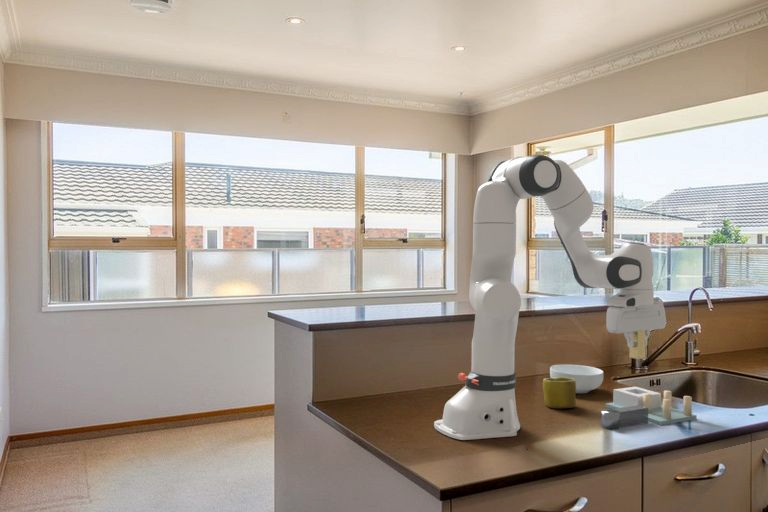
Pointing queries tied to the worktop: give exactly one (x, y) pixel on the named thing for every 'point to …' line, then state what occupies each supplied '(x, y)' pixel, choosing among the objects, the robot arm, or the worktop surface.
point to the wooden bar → (638, 345)
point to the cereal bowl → (579, 376)
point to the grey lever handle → (624, 416)
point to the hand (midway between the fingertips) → (637, 346)
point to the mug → (559, 392)
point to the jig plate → (659, 415)
